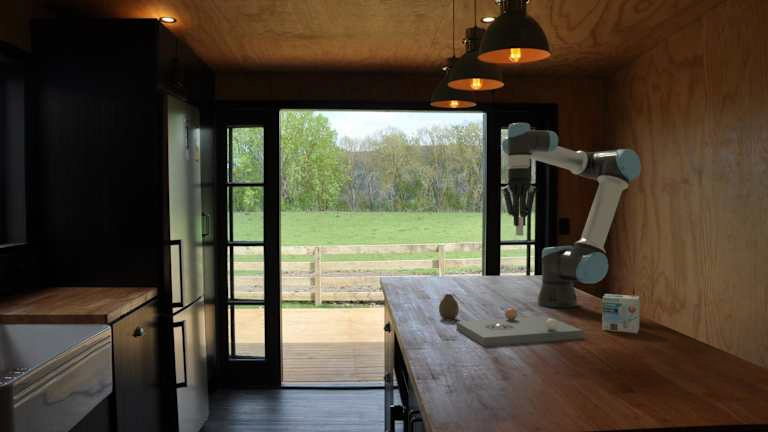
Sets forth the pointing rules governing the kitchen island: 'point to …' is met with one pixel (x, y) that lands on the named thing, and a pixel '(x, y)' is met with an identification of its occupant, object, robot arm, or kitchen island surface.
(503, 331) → the plate
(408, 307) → the kitchen island surface
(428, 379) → the kitchen island surface
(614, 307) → the light bulb box
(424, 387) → the kitchen island surface
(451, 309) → the vase
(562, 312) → the kitchen island surface
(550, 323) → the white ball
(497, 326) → the steel ball
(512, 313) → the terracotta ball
